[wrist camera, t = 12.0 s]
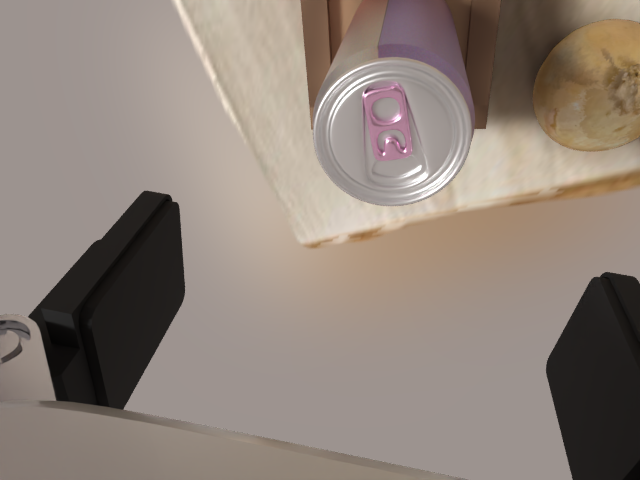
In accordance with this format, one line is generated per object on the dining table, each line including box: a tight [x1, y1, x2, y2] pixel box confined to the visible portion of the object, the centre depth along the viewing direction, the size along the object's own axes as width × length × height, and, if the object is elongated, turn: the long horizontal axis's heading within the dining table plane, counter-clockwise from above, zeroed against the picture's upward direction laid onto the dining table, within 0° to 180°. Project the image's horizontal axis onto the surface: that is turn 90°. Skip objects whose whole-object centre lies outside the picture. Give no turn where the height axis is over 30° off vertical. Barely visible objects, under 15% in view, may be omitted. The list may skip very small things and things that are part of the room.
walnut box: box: [301, 0, 501, 129], centre depth 32 cm, size 11×11×6 cm
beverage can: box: [313, 0, 475, 206], centre depth 24 cm, size 6×6×15 cm
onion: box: [533, 19, 640, 151], centre depth 32 cm, size 8×8×7 cm
